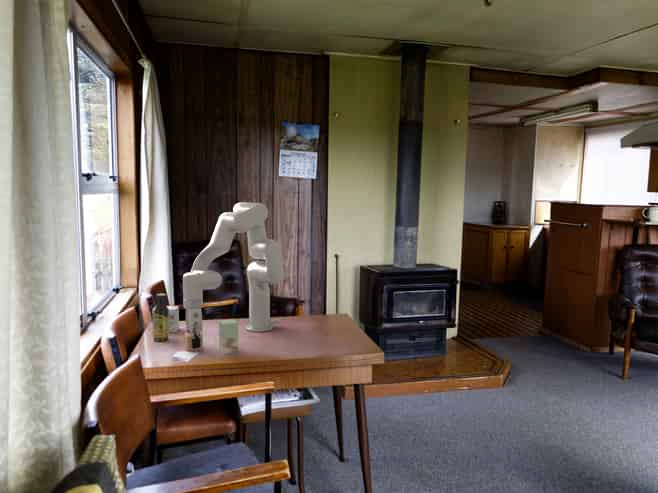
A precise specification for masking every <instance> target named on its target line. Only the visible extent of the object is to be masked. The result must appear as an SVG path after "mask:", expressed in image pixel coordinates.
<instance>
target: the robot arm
mask: <svg viewBox="0 0 658 493" xmlns="http://www.w3.org/2000/svg"><path fill="white" fill-rule="evenodd" d="M268 210H269V209H268V207H267V205H266V204H264V203H262V202H247V201H243V202H238V203H235V204H234V206H233V211H228V212H226V211H225V212H223V213H222V214H220V216H219V217H218V220H217V223H216V225H215V228H214V231H213V233H212V236H211V239H210V242H209V243H208V244H207V246H205V248H204V249H203V250H202V251H201V252H200V253H199V254H198V255H197V256H196V258H195V260H194V262H193V264H192V267H191V269H190V272H186V273H184V274H183V276H182V293H183V294H182V295H183V299H182V300H183V308H184V309H185V327H186V333H189V332H191V333H192V337H193V339H192V348H193V349H194V348H200V333H202V332H203V331H204V330H203V315H202V314H203V313H202V312H203V311H202V308H203V307H204V303H203V301H204V299H203V290H215V289H217V288H219V287H220V285H221V284H222V282H223V277H222V275H221V274H220V273H219V272H218V271H214V270H210V269H208V268H209V266H210V264H211V263H212V262H213V261H214V260H215V259H217V258H219V257H221V256H222V255H224V254H227V253H228V252H229V251H230V249H231V246H232V243H233V240H234V237H235V235H236V234H237V233H238V234H243V233H247V234H246V236H247V247H248V254H249V256H250V258H253V259H257V261H256V260H255V261H252V262H251V263H249V264H248V266H247V268H246V275H247V276H246V277H247V280H248V291H249V292H248V295H249V296H248V297H249V298H248V299H249V300H248V301H249V302H248V303H249V304H248V306H249V307H248V322H249V323H248V324H246V325H245V329H246V331H250V332H255V333H256V332H258V333H259V332H269V331H271V330H273V328H274V324H280V318H271V307H270V306H271V291H270V287H269V285H276V284H279V283H280V282H281V280H282V278H283V274H284V271H283V270H284V267H283V254H282V251H283V250H282V247H281V245H280V243H279V241H276V240H275V239H270V238H268V236H267V230H266V225H265V221H266V219H267V218H268V215H269V211H268ZM260 260H261V261H260ZM194 333H195V335H194Z"/></svg>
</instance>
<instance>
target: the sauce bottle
mask: <svg viewBox="0 0 658 493" xmlns="http://www.w3.org/2000/svg"><path fill="white" fill-rule="evenodd" d="M155 298H156V305H155V306H156V308H155V311H154V321H153V332H152V334H153V340H154V341H156V342H165V341H167V340H169V336H170V335H169V333H170V332H169V309H168V307H167V306H168V305H167V294H166V293H157V294H156V297H155Z"/></svg>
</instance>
